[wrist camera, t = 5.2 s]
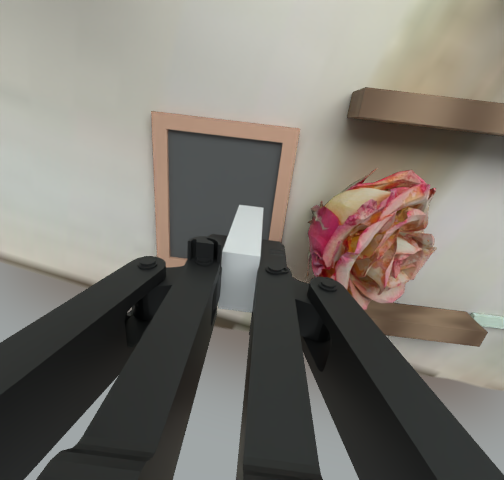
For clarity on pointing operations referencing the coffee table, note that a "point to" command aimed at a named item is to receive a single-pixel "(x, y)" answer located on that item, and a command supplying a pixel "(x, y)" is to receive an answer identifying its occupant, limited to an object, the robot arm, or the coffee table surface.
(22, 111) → the coffee table surface
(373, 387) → the robot arm
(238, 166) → the framed chalkboard
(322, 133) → the coffee table surface
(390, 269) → the flower
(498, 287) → the coffee table surface
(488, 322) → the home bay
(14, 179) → the coffee table surface
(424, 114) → the brown slabs
